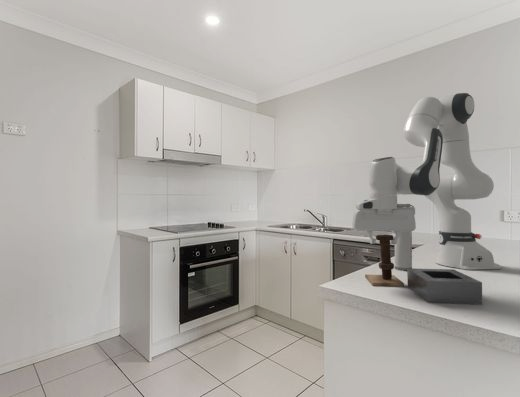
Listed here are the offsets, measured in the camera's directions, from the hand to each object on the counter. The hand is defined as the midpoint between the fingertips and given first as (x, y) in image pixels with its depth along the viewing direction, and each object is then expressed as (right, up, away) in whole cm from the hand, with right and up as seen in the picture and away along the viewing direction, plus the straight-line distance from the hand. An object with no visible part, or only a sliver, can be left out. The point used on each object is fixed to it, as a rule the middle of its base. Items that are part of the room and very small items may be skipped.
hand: (383, 243), depth 98 cm
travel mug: (+15, -13, +17) cm, 27 cm away
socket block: (+11, -13, -14) cm, 22 cm away
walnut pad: (0, -13, 0) cm, 13 cm away
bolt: (+1, -12, 0) cm, 12 cm away
